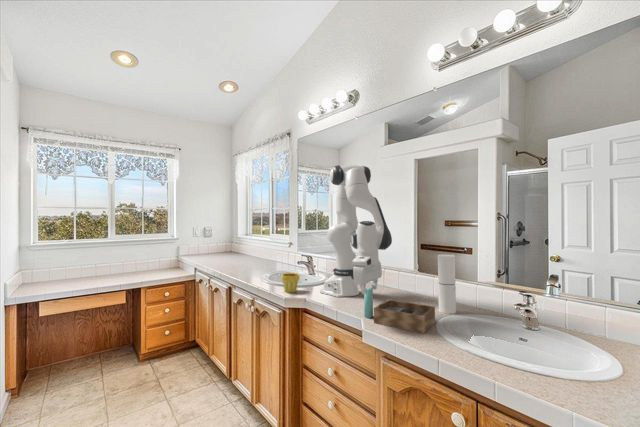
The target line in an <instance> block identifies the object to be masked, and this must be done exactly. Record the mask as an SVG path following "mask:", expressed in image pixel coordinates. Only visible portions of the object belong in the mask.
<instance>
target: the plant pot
mask: <svg viewBox="0 0 640 427" xmlns="http://www.w3.org/2000/svg"><path fill="white" fill-rule="evenodd" d="M281 281H282V284H283V289H284V292H285V293H287V292H288V293H289V294H290V293H291V294H292V293H296V292H297V289H298V284H299V281H300V274H299V273H295V272H287V273H282V274H281Z"/></svg>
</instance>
